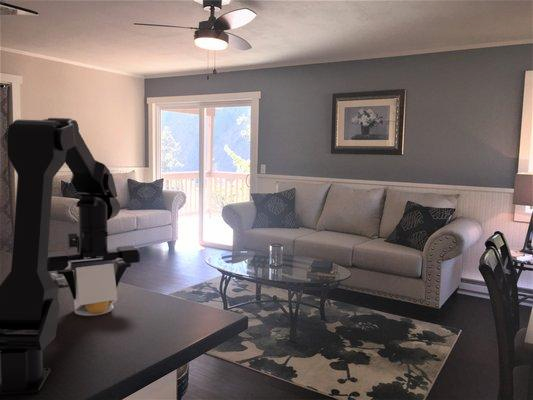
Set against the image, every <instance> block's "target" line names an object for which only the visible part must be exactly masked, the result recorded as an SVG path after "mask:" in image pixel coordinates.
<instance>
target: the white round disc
mask: <svg viewBox="0 0 533 400" xmlns="http://www.w3.org/2000/svg"><path fill="white" fill-rule="evenodd" d="M112 310H114V305H113V303H112V304H110V305H109V306H108V308H107V309H106V310H105V311H104V312H102V313H99V314H93V313H90V312H89V311H88V310H87V309H86V308H85V309H79V310H75V309H74V311H73V312H74V313H75V314H76V315H78V316H85V317H86V316H87V317H89V316H91V317H92V316H99V315H104V314H108V313H109V312H111V311H112Z"/></svg>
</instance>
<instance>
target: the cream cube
mask: <svg viewBox="0 0 533 400" xmlns="http://www.w3.org/2000/svg"><path fill="white" fill-rule="evenodd" d="M73 271H74V272H73V274H74V281H75V289H76V299H73V302H74V310H79V309H85V305H86V304H93V303H99V302H105V301H110V302H109V305H110V304H112V305H113V304H114V303H115V302H116V301H117V300H118V299H119V298H118V290H117V288H116V282H115V274H114V265H113V263H112V262H111V263H104V264H97V265H89V266H88V265H87V266H80V267H79V266H77V267H75V269H73Z"/></svg>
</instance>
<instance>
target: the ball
mask: <svg viewBox="0 0 533 400" xmlns="http://www.w3.org/2000/svg"><path fill="white" fill-rule="evenodd" d="M109 302H110V301H105V302H99V303H93V304H86V305H85V308H86V309H87V310H88V311H89V312H90V313H93V314H99V313H102V312H104V311H105V310H106V309H107V308H108V306H109Z"/></svg>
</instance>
